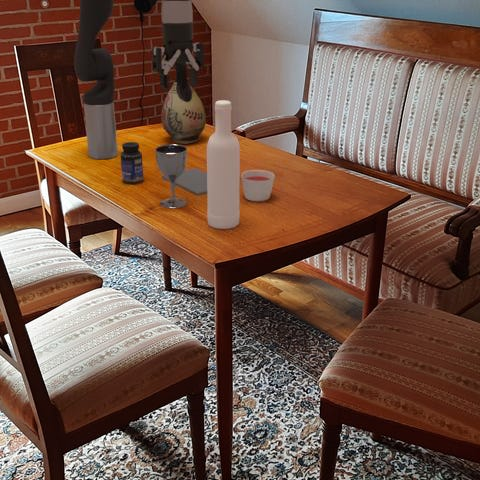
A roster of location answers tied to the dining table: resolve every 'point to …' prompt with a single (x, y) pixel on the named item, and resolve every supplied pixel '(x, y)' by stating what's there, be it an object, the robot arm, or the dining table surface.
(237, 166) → the bottle
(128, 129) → the dining table surface
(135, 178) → the pill bottle
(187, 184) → the place mat
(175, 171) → the wine glass
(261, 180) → the candle
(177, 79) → the ceramic jug
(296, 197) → the dining table surface
